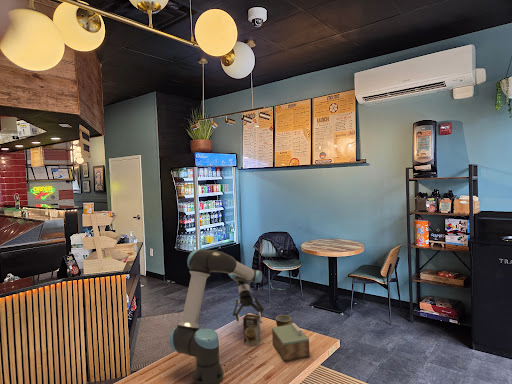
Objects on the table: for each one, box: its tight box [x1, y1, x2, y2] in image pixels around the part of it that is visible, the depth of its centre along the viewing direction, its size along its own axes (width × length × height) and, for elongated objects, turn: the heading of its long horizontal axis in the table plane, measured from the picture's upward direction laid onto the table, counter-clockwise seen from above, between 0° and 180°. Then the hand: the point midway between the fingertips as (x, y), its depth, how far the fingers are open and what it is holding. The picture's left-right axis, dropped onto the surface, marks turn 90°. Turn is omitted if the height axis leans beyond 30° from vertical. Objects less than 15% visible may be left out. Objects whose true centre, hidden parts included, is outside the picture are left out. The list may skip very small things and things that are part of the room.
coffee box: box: [242, 314, 261, 346], centre depth 200 cm, size 9×6×16 cm
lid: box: [271, 322, 310, 345], centre depth 189 cm, size 15×20×4 cm
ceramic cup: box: [275, 314, 292, 327], centre depth 212 cm, size 13×10×10 cm
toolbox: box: [271, 329, 310, 363], centre depth 189 cm, size 15×20×9 cm
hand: (250, 324), depth 205 cm, fingers open, 13 cm apart
